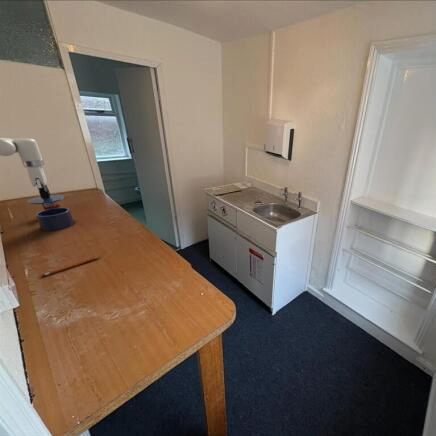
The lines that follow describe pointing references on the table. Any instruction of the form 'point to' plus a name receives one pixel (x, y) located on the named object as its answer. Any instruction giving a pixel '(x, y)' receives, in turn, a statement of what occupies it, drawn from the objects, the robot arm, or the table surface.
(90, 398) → the table surface
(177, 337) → the table surface
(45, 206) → the soda can
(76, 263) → the pencil
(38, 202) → the lid
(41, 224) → the pot
